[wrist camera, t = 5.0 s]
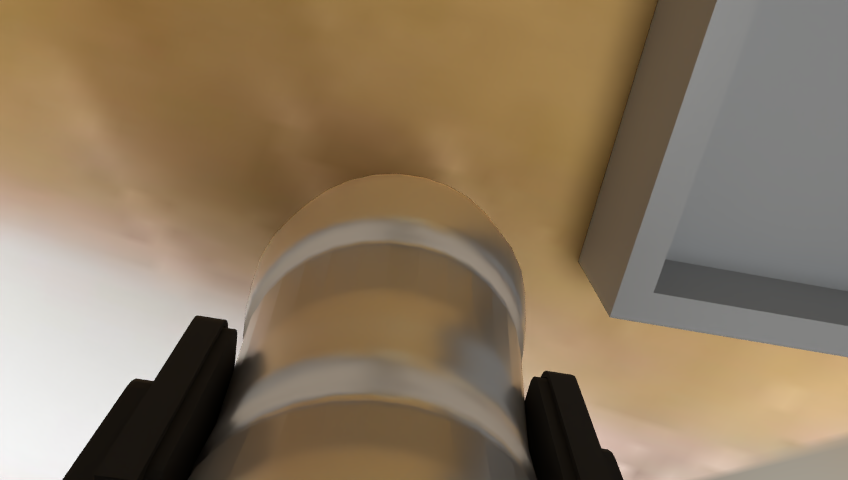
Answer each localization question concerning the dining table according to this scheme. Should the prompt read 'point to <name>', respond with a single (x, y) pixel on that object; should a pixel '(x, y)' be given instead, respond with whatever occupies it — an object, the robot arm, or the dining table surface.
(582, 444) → the robot arm
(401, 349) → the plastic bottle
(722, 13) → the grey bin
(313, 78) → the dining table surface
